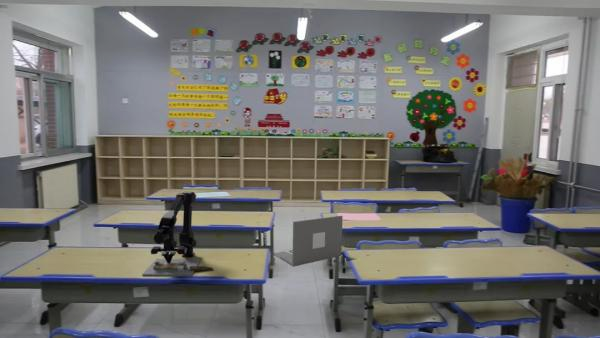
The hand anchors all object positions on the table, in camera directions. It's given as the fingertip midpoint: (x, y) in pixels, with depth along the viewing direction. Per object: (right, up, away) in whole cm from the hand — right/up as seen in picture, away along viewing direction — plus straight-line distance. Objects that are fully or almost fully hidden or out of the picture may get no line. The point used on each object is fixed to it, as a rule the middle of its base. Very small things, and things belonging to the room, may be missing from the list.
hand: (169, 264), depth 235 cm
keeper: (+8, -1, -4) cm, 9 cm away
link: (+1, -1, -2) cm, 3 cm away
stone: (+22, -3, -6) cm, 23 cm away
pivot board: (+2, -2, +1) cm, 3 cm away
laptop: (+78, -1, +25) cm, 82 cm away
